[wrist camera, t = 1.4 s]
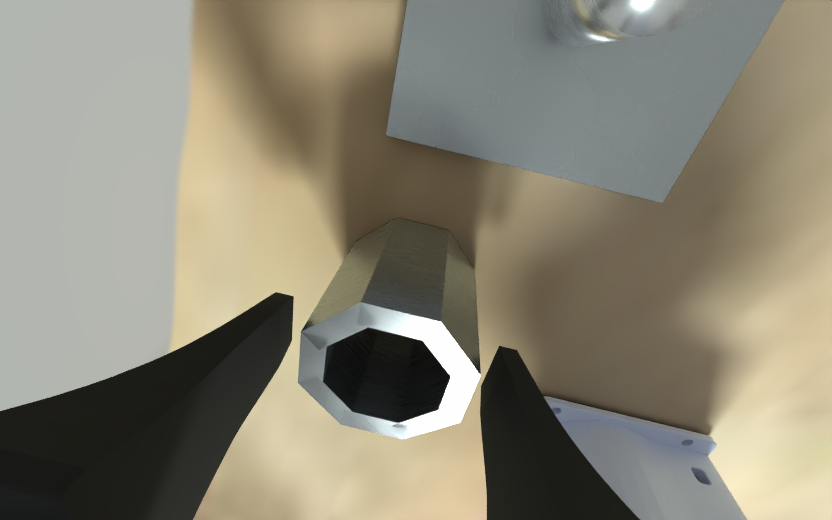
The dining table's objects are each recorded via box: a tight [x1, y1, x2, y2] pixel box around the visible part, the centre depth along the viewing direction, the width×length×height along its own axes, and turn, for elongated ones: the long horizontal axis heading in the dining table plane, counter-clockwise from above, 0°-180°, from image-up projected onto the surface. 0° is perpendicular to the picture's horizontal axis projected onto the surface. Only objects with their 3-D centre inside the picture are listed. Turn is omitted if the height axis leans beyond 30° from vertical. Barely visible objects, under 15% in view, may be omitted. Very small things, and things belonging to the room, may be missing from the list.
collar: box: [298, 218, 481, 440], centre depth 13 cm, size 5×5×6 cm
